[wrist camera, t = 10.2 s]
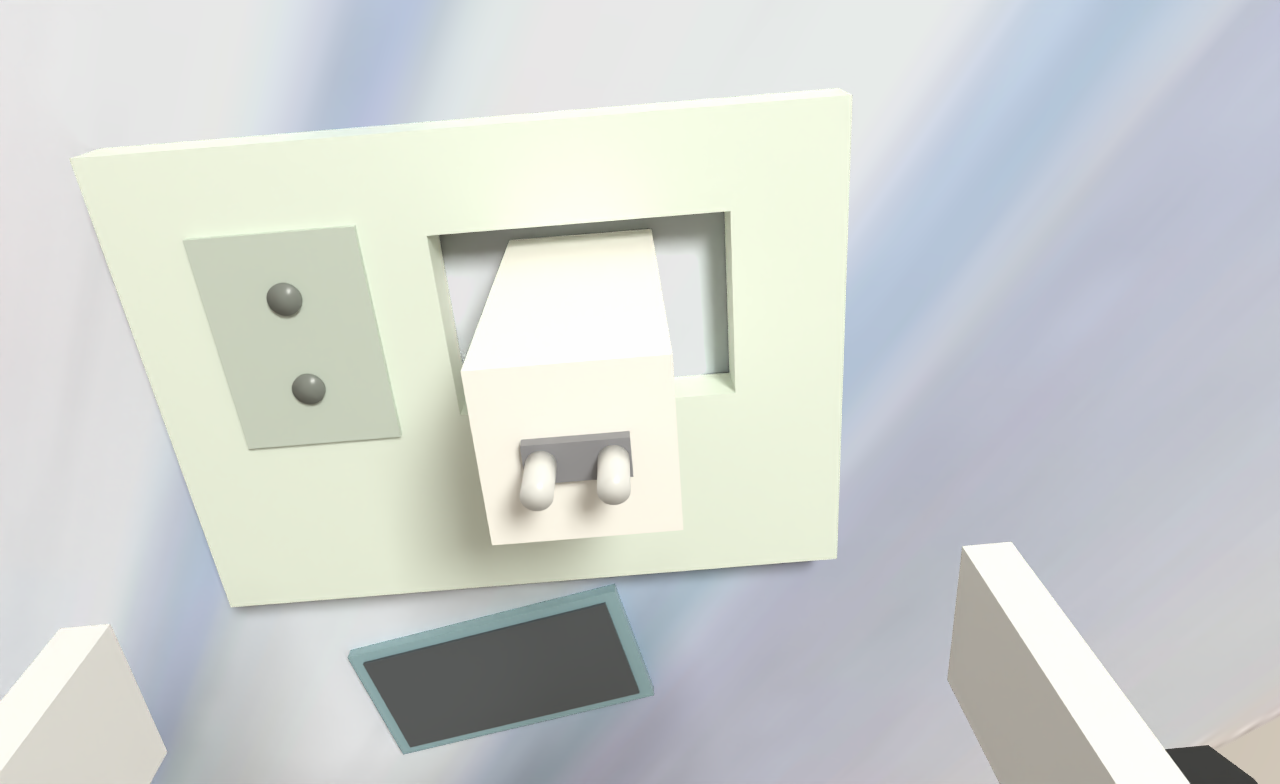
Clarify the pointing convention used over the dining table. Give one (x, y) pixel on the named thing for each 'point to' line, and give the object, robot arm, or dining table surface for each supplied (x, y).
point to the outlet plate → (427, 340)
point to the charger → (575, 392)
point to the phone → (505, 670)
